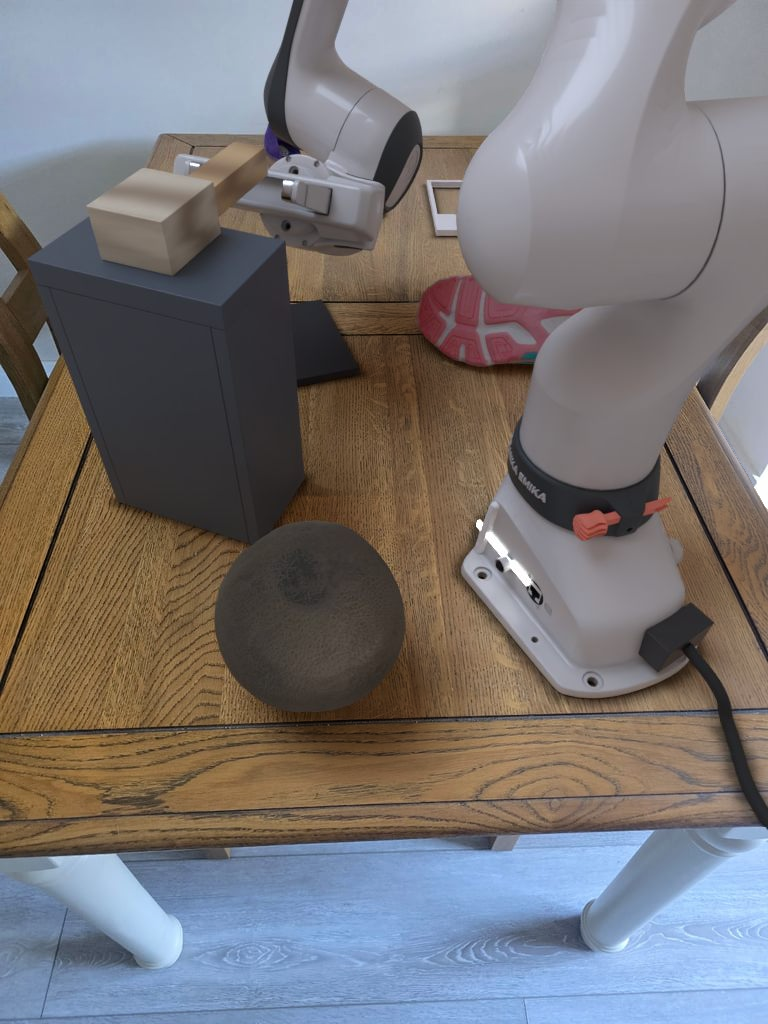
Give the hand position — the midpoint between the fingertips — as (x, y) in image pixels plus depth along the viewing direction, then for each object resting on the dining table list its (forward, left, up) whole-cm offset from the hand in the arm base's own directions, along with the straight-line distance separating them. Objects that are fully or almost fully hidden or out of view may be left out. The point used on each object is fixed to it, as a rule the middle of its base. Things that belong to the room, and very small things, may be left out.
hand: (239, 180), depth 60 cm
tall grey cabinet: (-10, +8, -26) cm, 29 cm away
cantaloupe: (-33, +4, -26) cm, 42 cm away
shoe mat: (+12, -7, -26) cm, 30 cm away
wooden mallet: (-6, +5, 0) cm, 7 cm away
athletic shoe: (+2, -32, -26) cm, 42 cm away
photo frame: (+40, -44, -26) cm, 65 cm away
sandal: (+49, -21, -26) cm, 60 cm away
